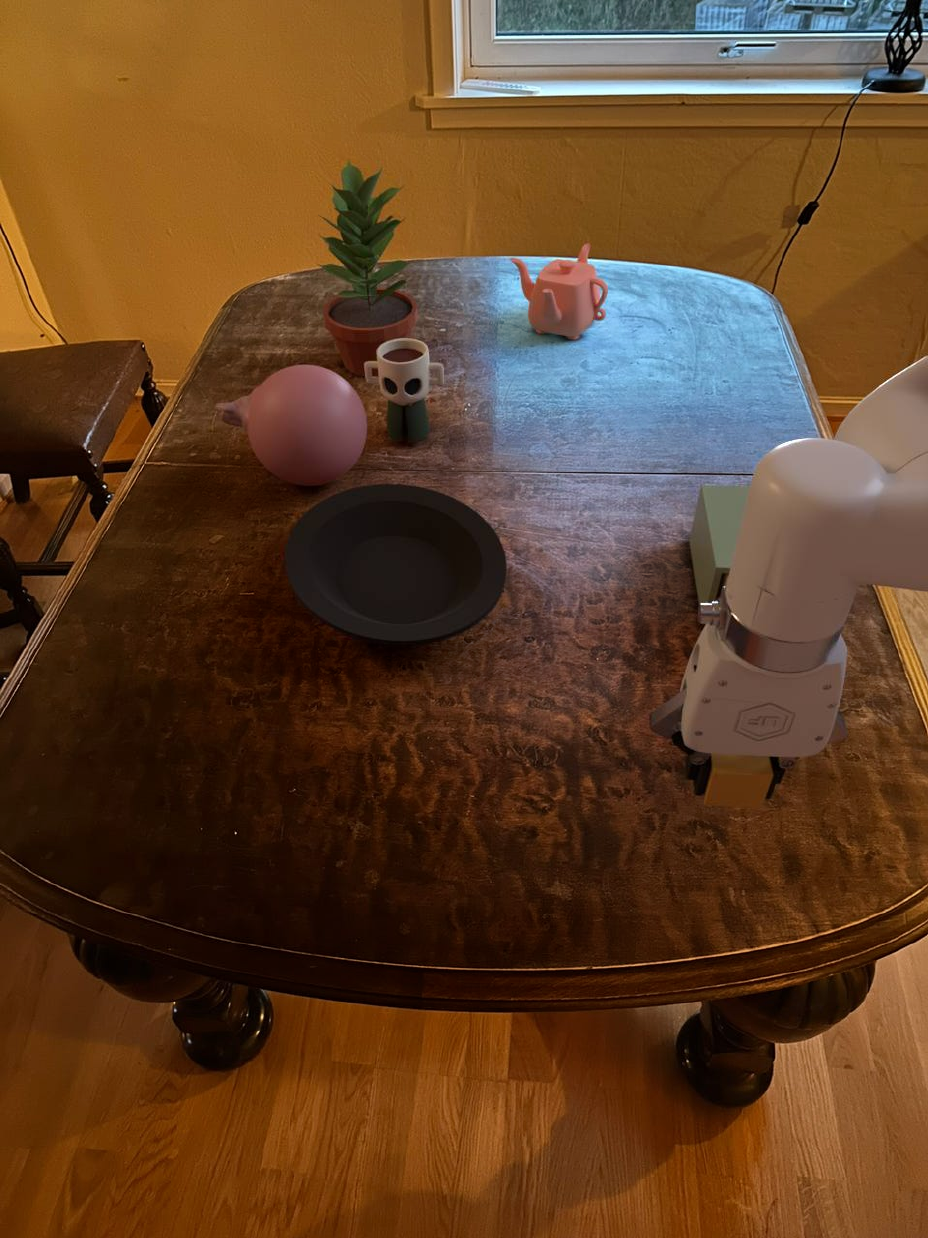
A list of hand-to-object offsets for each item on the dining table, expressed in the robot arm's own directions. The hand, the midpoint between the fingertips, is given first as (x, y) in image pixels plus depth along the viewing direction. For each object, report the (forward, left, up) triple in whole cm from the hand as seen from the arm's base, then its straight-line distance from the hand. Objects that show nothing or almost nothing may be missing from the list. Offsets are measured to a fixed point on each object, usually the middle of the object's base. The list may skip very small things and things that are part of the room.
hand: (730, 780), depth 70 cm
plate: (+11, -44, -12) cm, 47 cm away
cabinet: (-26, -27, -12) cm, 39 cm away
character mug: (-3, -74, -12) cm, 75 cm away
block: (0, 0, 0) cm, 0 cm away
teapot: (-38, -93, -12) cm, 101 cm away
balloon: (+14, -72, -12) cm, 74 cm away
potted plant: (-6, -96, -12) cm, 97 cm away
